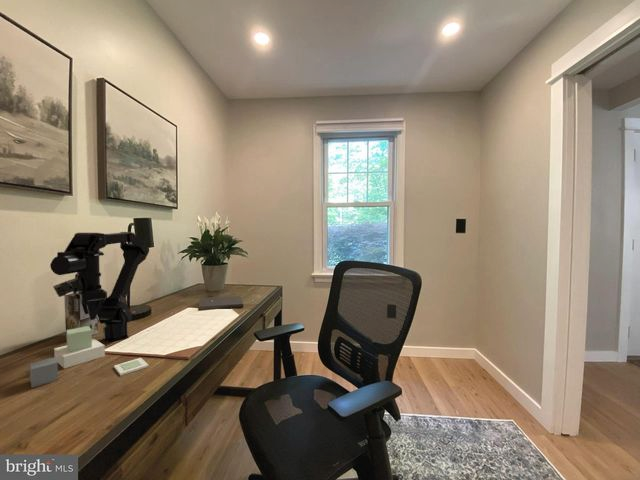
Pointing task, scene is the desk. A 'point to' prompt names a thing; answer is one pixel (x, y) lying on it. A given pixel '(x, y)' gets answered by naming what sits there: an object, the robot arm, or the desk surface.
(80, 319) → the coffee box
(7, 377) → the desk surface
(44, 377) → the slate cube
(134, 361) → the card
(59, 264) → the robot arm
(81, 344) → the sage cube
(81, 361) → the plinth
